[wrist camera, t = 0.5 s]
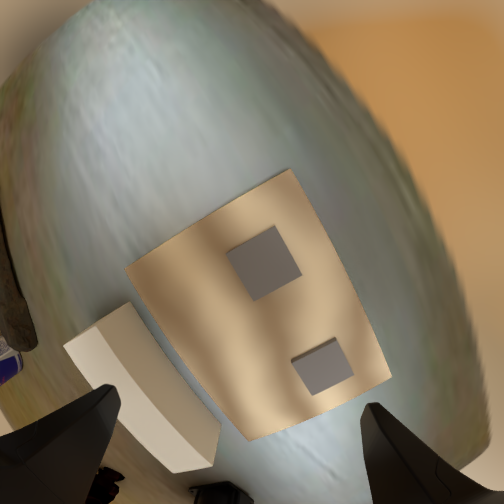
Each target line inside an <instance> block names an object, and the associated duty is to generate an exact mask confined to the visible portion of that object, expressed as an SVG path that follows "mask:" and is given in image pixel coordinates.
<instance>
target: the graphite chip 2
mask: <svg viewBox="0 0 504 504" xmlns="http://www.w3.org/2000/svg"><path fill="white" fill-rule="evenodd" d="M291 363H292V365H293V367H294V368H295V370H296V371H297V373H298V375H299V376H300V378H301V379H302V381H303V383H304V384H305V386H306V387H307V389H308V390H309V392H310V394H311V395H312V396H313V395H315V394H318V393H320V392H322V391H324V390H326V389H328V388H330V387H332V386H334V385H336V384H338V383H340V382H342V381H344V380H346V379H348V378H350V377H351V376H353V375H354V373H353V371H352V369H351V367H350V365H349V363H348V361H347V359H346V357H345V355H344V353H343V351H342V349H341V347H340V345H339V343H338V341H337V339H336V337H334V338H332V339H330V340H329V341H327V342H325V343H323V344H321V345H319V346H317V347H315V348H313V349H311V350H309V351H307V352H305V353H303V354H301V355H299V356H297V357H295V358H293V359H291Z"/></svg>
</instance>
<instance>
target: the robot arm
mask: <svg viewBox="0 0 504 504" xmlns="http://www.w3.org/2000/svg"><path fill="white" fill-rule="evenodd" d="M120 407H121V399H120V396H119V394H118V391H117V388H116V387H115V386H114V385H111V384H103V385H101V386H100V387H98V388H96V389H94V390H93V391H91V392H89V393H87V394H85V395H84V396H82V397H80V398H78V399H76V400H75V401H73V402H71V403H69V404H67V405H65V406H64V407H62V408H60V409H58V410H56V411H54V412H52V413H51V414H49V415H47V416H45V417H43V418H41V419H39V420H38V421H35V422H33V423H31V424H29V425H27V426H25V427H23V428H21V429H19V430H16V431H14V432H12V433H9V434H6V435H3V436H0V504H84V503H85V500H86V498H87V495H88V493H89V490H90V488H91V485H92V482H93V480H94V477H95V475H96V473H97V470H98V468H99V465H100V463H101V460H102V458H103V456H104V453H105V451H106V449H107V446H108V444H109V442H110V439H111V437H112V433H113V430H114V427H115V423H116V420H117V417H118V414H119V410H120ZM360 425H361V435H362V445H363V455H364V461H365V466H366V471H367V475H368V480H369V485H370V490H371V495H372V500H373V504H504V491H493V490H490V489H487V488H485V487H483V486H482V485H480V484H478V483H476V482H475V481H474V480H472V479H470V478H469V477H467V476H466V475H464V474H462V473H461V472H460V471H458V470H457V469H455V468H454V467H453V466H451V465H450V464H449V463H447V462H446V461H445V460H444V459H443V458H441V457H440V456H438V454H437V453H435V452H434V451H433V450H432V449H431V448H430V447H428V446H427V445H426V444H425V443H424V442H423V441H421V440H420V439H419V438H418V437H417V436H416V435H415V434H413V433H412V432H411V431H410V430H409V429H408V428H407V427H405V426H404V425H403V424H402V423H401V422H400V421H399V420H398V419H396V418H395V417H394V416H393V415H392V414H391V413H390V412H389V411H387V410H386V409H385V408H384V407H383V406H382V405H381V404H380V403H378V402H373V403H367V404H366V406H365V409H364V411H363V414H362V416H361V419H360ZM188 491H189V492H190V493H191V494H192V495H194V496H195V500H194V504H254V501H253V500H252V499H251V498H249V497H248V496H247V495H245V494H244V493H243V492H242V491H240V490H239V489H238V488H237V487H235V486H234V485H233V484H232V483H230V482H222V483H217V484H211V485H205V486H199V487H192V488H189V490H188Z"/></svg>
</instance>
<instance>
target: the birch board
mask: <svg viewBox="0 0 504 504" xmlns="http://www.w3.org/2000/svg"><path fill="white" fill-rule="evenodd" d="M273 226H276V228H277V230H278V232H279V233H280V235H281V237H282V239H283V241H284V242H285V244H286V246H287V248H288V250H289V251H290V253H291V255H292V257H293V259H294V260H295V262H296V264H297V266H298V268H299V270H300V271H301V273H302V276H300V277H299V278H297V279H295V280H293V281H291V282H289V283H288V284H286V285H284V286H282V287H280V288H278V289H277V290H275V291H273V292H271V293H269V294H267V295H265V296H264V297H262V298H260V299H258V300H256V301H253V300H252V298H251V296H250V295H249V293H248V291H247V290H246V288H245V286H244V285H243V283H242V281H241V280H240V278H239V276H238V275H237V273H236V271H235V270H234V268H233V266H232V265H231V263H230V261H229V259H228V258H227V256H226V253H227V252H229V251H230V250H232V249H234V248H236V247H238V246H239V245H241V244H243V243H245V242H246V241H248V240H250V239H252V238H253V237H255V236H257V235H259V234H260V233H262V232H264V231H266V230H268V229H269V228H271V227H273ZM124 270H125V272H126V273H127V275H128V277H129V279H130V280H131V282H132V284H133V285H134V287H135V289H136V290H137V292H138V294H139V295H140V297H141V299H142V300H143V302H144V304H145V305H146V307H147V308H148V310H149V312H150V313H151V315H152V316H153V318H154V319H155V321H156V322H157V324H158V326H159V327H160V329H161V330H162V332H163V333H164V335H165V336H166V337H167V339H168V340H169V342H170V343H171V345H172V346H173V348H174V349H175V350H176V352H177V353H178V355H179V356H180V358H181V359H182V360H183V362H184V363H185V364H186V366H187V367H188V368H189V370H190V371H191V373H192V374H193V375H194V377H195V378H196V379H197V380H198V382H199V383H200V384H201V386H202V387H203V388H204V389H205V391H206V392H207V393H208V395H209V396H210V397H211V398H212V400H213V401H214V402H215V403H216V404H217V406H218V407H219V408H220V409H221V410H222V412H223V413H224V414H225V415H226V416H227V418H228V419H229V420H230V421H231V422H232V423H233V425H234V426H235V427H236V428H237V429H238V430H239V431H240V432H241V434H242V435H243V436H244V437H245V438H246V439H247V440H248V441H252V440H255V439H258V438H261V437H264V436H267V435H270V434H272V433H275V432H278V431H281V430H283V429H286V428H289V427H291V426H294V425H296V424H299V423H301V422H303V421H306V420H308V419H311V418H313V417H315V416H317V415H320V414H322V413H324V412H326V411H328V410H331V409H333V408H335V407H337V406H339V405H341V404H343V403H345V402H347V401H349V400H351V399H353V398H355V397H357V396H359V395H361V394H362V393H364V392H366V391H368V390H370V389H372V388H373V387H375V386H377V385H379V384H380V383H382V382H384V381H386V380H387V379H389V378H391V377H392V376H391V373H390V370H389V368H388V365H387V363H386V360H385V358H384V355H383V353H382V350H381V348H380V346H379V343H378V341H377V339H376V336H375V334H374V331H373V329H372V327H371V325H370V322H369V320H368V318H367V315H366V313H365V311H364V309H363V307H362V304H361V302H360V300H359V298H358V296H357V294H356V291H355V289H354V287H353V285H352V283H351V281H350V279H349V277H348V275H347V273H346V271H345V268H344V266H343V264H342V262H341V260H340V258H339V256H338V254H337V252H336V250H335V248H334V247H333V245H332V243H331V241H330V239H329V237H328V235H327V233H326V231H325V229H324V227H323V225H322V224H321V222H320V220H319V218H318V216H317V214H316V212H315V211H314V209H313V207H312V205H311V203H310V201H309V200H308V198H307V196H306V194H305V193H304V191H303V189H302V187H301V186H300V184H299V182H298V180H297V179H296V177H295V175H294V173H293V172H292V170H291V168H290V169H288V170H287V171H285V172H283V173H281V174H279V175H277V176H276V177H274V178H272V179H270V180H268V181H267V182H265V183H263V184H261V185H259V186H258V187H256V188H254V189H252V190H251V191H249V192H247V193H245V194H244V195H242V196H240V197H238V198H237V199H235V200H233V201H232V202H230V203H228V204H226V205H225V206H223V207H221V208H220V209H218V210H216V211H215V212H213V213H211V214H210V215H208V216H206V217H205V218H203V219H201V220H200V221H198V222H196V223H195V224H193V225H192V226H190V227H188V228H187V229H185V230H184V231H182V232H180V233H179V234H177V235H176V236H174V237H172V238H171V239H169V240H168V241H166V242H164V243H163V244H161V245H160V246H158V247H157V248H155V249H154V250H152V251H150V252H149V253H147V254H146V255H144V256H143V257H141V258H140V259H138V260H137V261H135V262H134V263H132V264H131V265H129V266H128V267H126V268H125V269H124ZM334 337H336V339H337V341H338V343H339V345H340V347H341V349H342V351H343V353H344V355H345V357H346V359H347V361H348V363H349V365H350V367H351V369H352V371H353V373H354V375H353V376H351V377H350V378H348V379H346V380H344V381H342V382H340V383H338V384H336V385H334V386H332V387H330V388H328V389H326V390H324V391H322V392H320V393H318V394H315V395H313V396H312V395H311V394H310V392H309V390H308V389H307V387H306V386H305V384H304V383H303V381H302V379H301V378H300V376H299V375H298V373H297V371H296V370H295V368H294V367H293V365H292V363H291V359H293V358H295V357H297V356H299V355H301V354H303V353H305V352H307V351H309V350H311V349H313V348H315V347H317V346H319V345H321V344H323V343H325V342H327V341H329V340H330V339H332V338H334Z"/></svg>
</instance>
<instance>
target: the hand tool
mask: <svg viewBox="0 0 504 504" xmlns="http://www.w3.org/2000/svg"><path fill="white" fill-rule="evenodd" d="M0 330H1V334H2V336H3V337H4V339H5V341H6V343H7V345H8V346H9V347H11V348H12V349H13V350H15V351H20V352H21V351H24V352H28V351H31V350H32V349H34V348H35V347H36V346H37V338H36V334H35V331H34V326H33V323H32V320H31V317H30V314H29V310H28V307H27V303H26V300H25V298H23V297H21V296H20V294H19V291H18V289H17V287H16V283H15V281H14V276H13V273H12V270H11V264H10V261H9V259H8V256H7V252H6V248H5V243H4V238H3V233H2V229H1V223H0Z"/></svg>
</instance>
